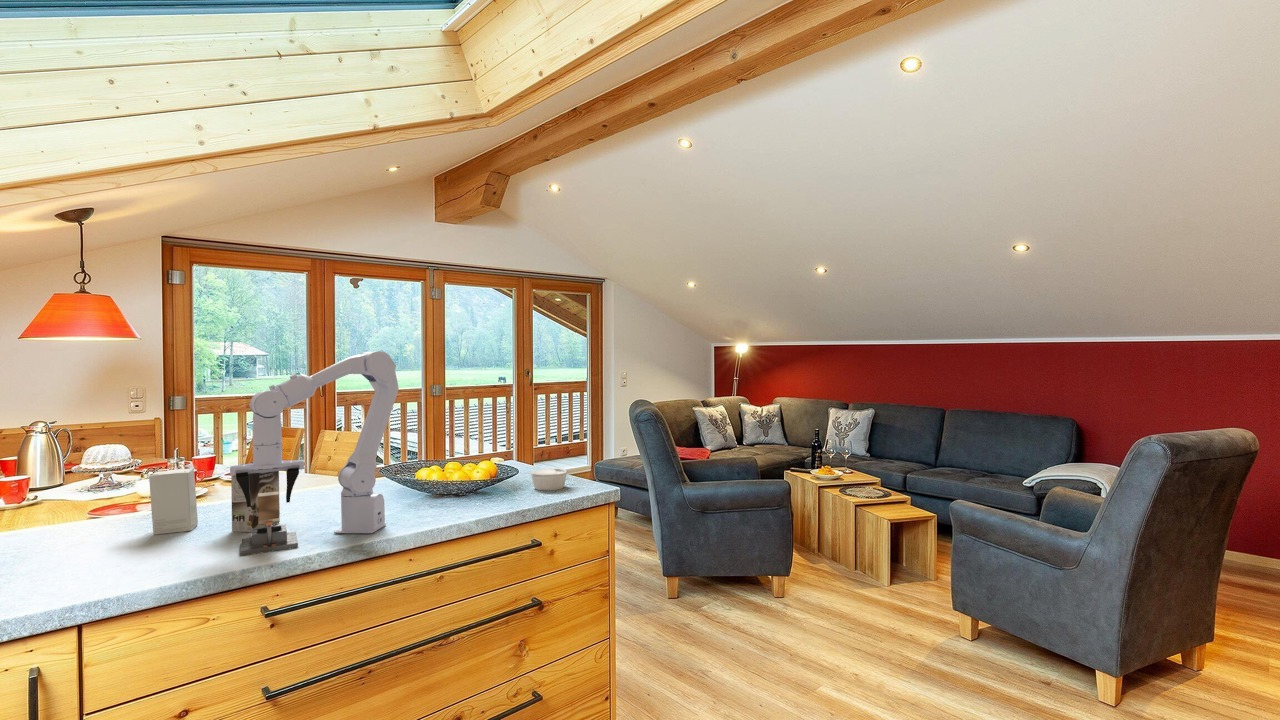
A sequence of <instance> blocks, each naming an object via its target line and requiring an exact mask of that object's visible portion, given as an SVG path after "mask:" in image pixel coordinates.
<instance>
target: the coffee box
mask: <svg viewBox="0 0 1280 720" xmlns="http://www.w3.org/2000/svg"><path fill="white" fill-rule="evenodd" d="M252 463H253V461H252V462H248V463H246V464H252ZM244 464H245V463H244ZM244 464H243V463H242V464H241V465H244ZM272 469H277V468H272ZM259 470H266V469H259ZM230 477H231V481H230V483H231V532H237V533H239V532H240V533H241V532H242V533H252V529H253V528H261V527H267V526H266V524H259V508H258V493H267V492H276V491H279V492H280V471H272V472H261V473H250V474H249V481H250V497H251V507H247V503H246V499H245V496H244V493H243V491H242V489H241V487H240V485H239V483H238V482H237V480H236V475H234V476H230ZM280 506H281V505H279V517H280V518H281V514H280V513H281V512H280V511H281V510H280ZM279 522H280V523H281V520H280V521H279ZM279 522H274V523H272V525H273V526H275V525H274V524H276V525H278V524H277V523H279ZM280 523H279V524H280Z"/></svg>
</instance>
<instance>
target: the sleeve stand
mask: <svg viewBox="0 0 1280 720" xmlns="http://www.w3.org/2000/svg"><path fill="white" fill-rule="evenodd" d="M271 525H272V521H266V526H267V527H261V528H253V529H252V532H251V537H244V538H241V543H240V549H239V550H240V551H239V552H240V553H239V554H240V555H239V556H241V555H242V556H248V555H247V554H249V555H254V554H253V553H256V554H261V553H260V552H263V553H267V552H268V551H270V552H275V550H277V551H281V549H284V550H290V549H289V548H291V549H296V547H298V548H299V541H298V540H299V539H298V535H297V531H290V532H288V529H287V524H280V525H279V524H276V525H273V526H271Z"/></svg>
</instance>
